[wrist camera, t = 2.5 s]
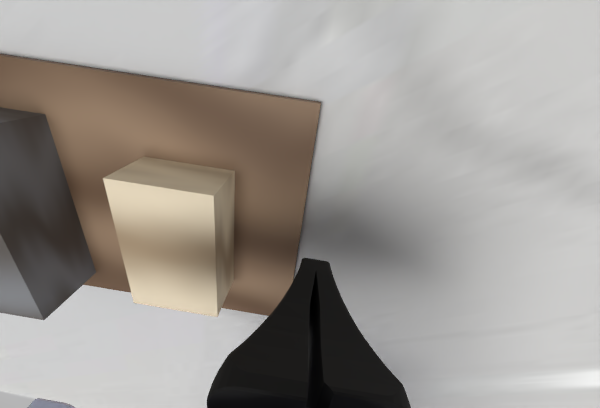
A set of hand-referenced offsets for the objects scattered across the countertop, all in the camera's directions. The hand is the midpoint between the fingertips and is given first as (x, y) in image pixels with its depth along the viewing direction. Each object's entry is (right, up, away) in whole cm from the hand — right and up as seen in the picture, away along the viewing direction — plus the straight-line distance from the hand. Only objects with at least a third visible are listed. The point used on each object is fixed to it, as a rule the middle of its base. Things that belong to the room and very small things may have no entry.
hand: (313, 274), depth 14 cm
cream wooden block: (-7, +2, +3) cm, 8 cm away
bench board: (-9, +3, +3) cm, 10 cm away
